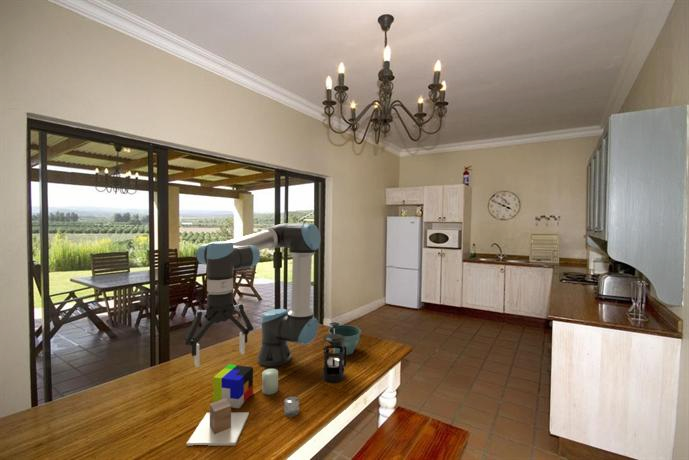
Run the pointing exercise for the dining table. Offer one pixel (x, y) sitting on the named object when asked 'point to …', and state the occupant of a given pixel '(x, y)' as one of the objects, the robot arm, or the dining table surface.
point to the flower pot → (347, 337)
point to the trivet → (226, 437)
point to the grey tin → (291, 406)
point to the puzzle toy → (233, 385)
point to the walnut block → (220, 416)
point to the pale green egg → (269, 381)
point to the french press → (334, 363)
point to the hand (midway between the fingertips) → (220, 359)
